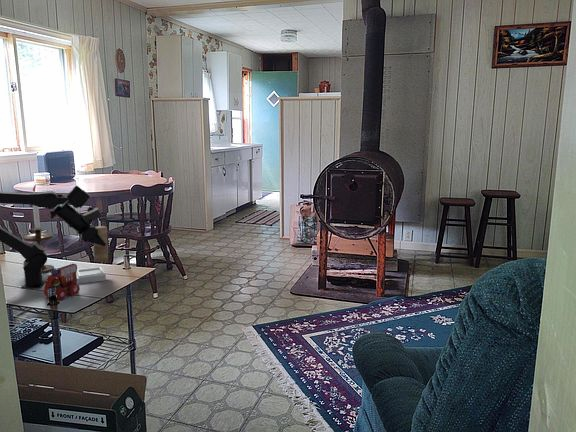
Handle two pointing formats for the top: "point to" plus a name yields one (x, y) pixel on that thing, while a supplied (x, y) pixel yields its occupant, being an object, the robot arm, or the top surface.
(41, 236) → the candlestick
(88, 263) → the top surface
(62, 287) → the toy fire truck
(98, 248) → the walnut pillar
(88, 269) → the base plate
